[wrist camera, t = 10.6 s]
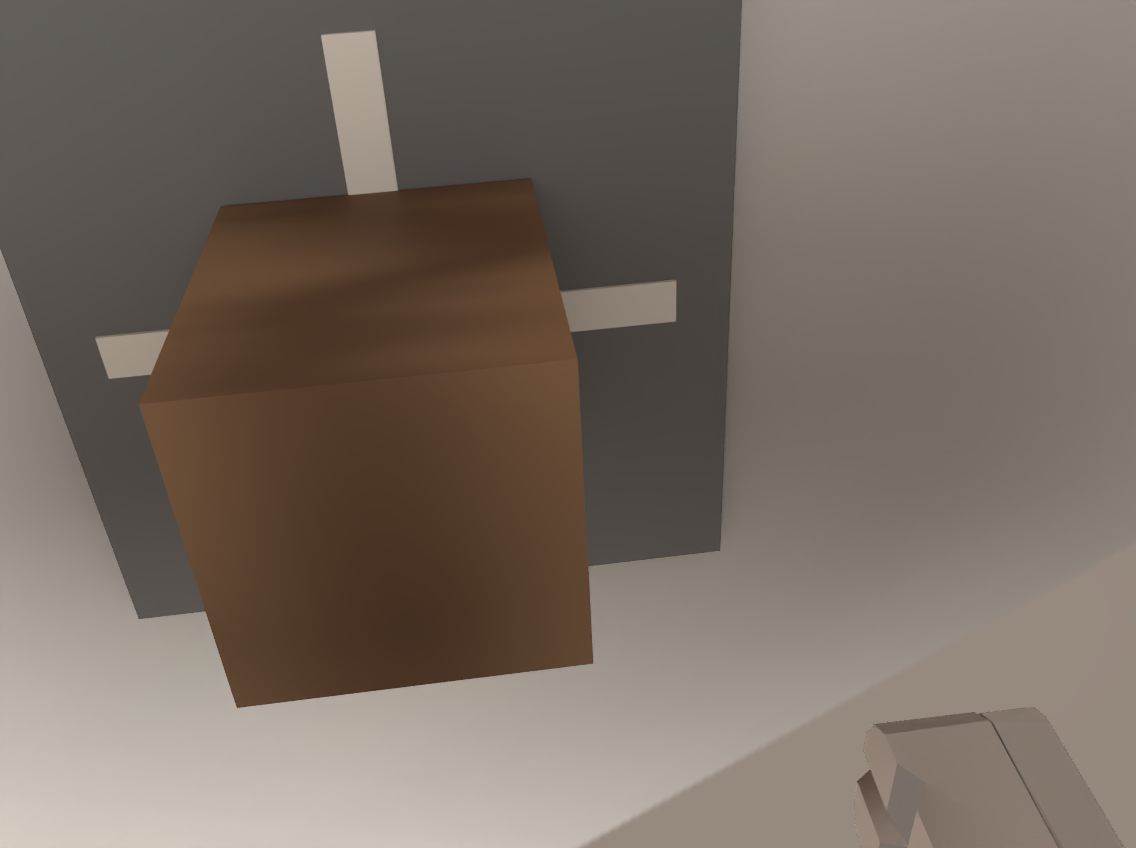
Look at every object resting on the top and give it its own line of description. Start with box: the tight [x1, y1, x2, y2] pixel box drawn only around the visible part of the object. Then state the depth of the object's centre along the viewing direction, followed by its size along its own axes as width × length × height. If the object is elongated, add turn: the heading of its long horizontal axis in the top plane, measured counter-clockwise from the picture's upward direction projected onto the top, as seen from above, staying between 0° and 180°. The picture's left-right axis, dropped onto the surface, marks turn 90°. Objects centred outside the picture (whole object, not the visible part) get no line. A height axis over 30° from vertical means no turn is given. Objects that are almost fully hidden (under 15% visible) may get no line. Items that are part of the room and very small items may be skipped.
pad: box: [0, 0, 742, 619], centre depth 19 cm, size 12×12×1 cm
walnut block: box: [139, 179, 593, 708], centre depth 16 cm, size 5×5×6 cm
